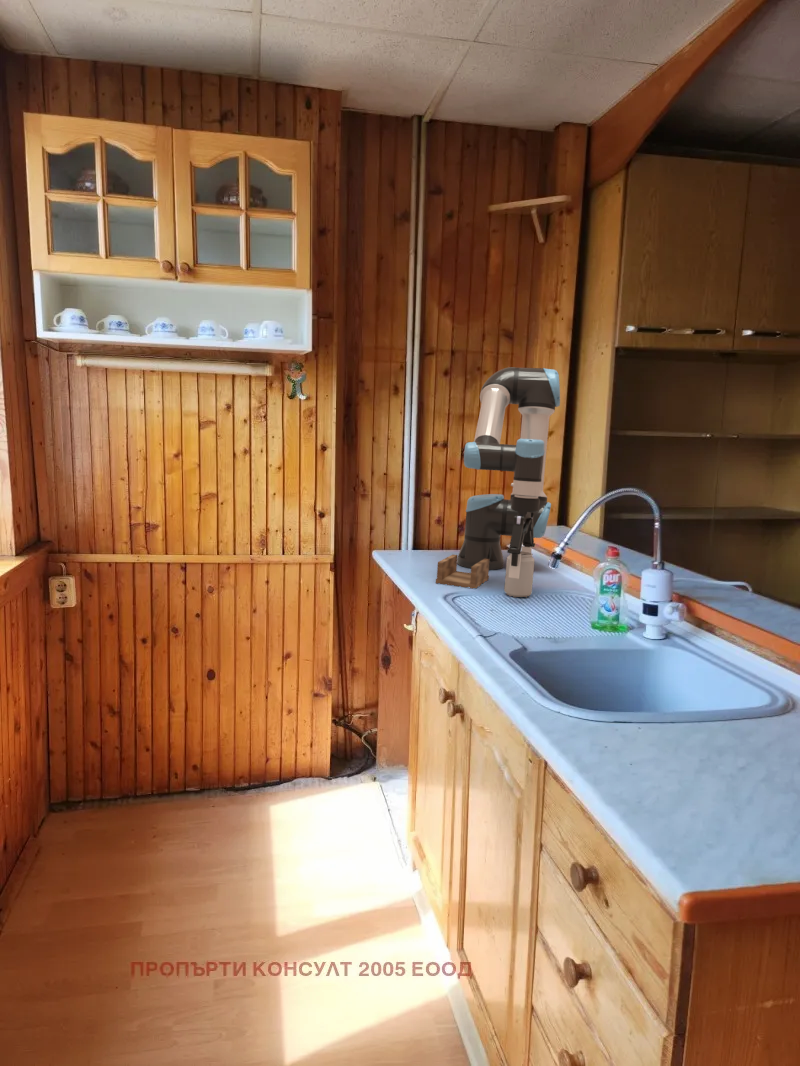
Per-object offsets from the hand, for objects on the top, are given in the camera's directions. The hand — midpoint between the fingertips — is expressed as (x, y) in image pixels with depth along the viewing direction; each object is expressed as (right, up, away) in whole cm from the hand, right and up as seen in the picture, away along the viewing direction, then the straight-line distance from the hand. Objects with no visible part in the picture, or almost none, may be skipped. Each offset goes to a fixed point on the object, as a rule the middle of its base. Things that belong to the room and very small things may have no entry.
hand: (519, 573), depth 198 cm
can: (0, -6, +1) cm, 6 cm away
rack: (-14, -3, +14) cm, 20 cm away
